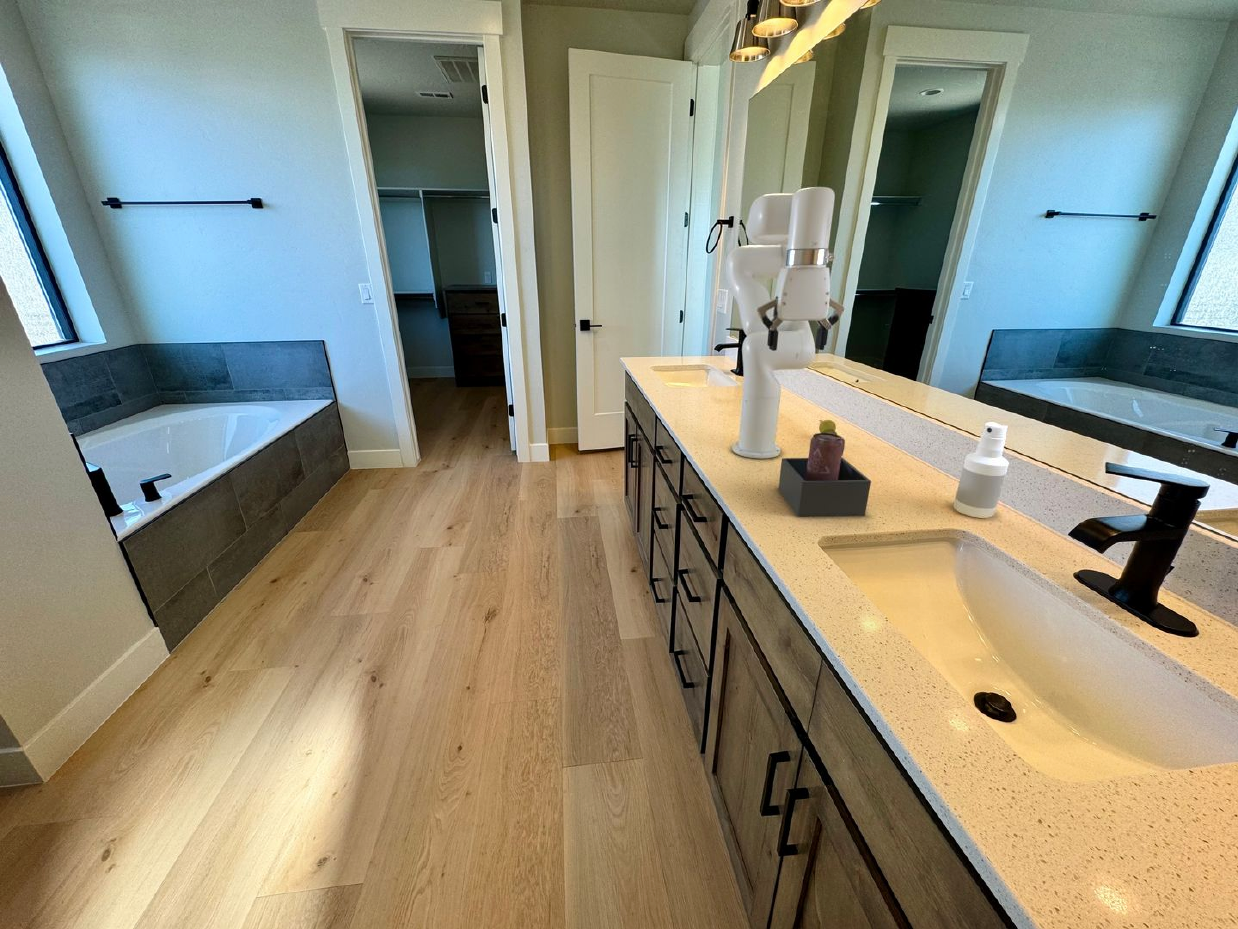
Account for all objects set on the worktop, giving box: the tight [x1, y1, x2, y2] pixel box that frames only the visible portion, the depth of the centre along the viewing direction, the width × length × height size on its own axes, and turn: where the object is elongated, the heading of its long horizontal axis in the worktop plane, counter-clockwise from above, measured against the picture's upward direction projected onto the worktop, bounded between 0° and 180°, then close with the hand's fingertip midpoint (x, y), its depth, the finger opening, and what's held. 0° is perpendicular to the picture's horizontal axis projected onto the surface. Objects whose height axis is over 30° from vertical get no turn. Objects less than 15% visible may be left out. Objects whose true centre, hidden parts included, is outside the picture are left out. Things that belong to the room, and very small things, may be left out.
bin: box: [778, 456, 872, 518], centre depth 102 cm, size 13×13×8 cm
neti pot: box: [818, 419, 838, 435], centre depth 137 cm, size 4×15×6 cm, turn 0°
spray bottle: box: [952, 421, 1010, 519], centre depth 95 cm, size 7×7×18 cm
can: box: [805, 432, 846, 481], centre depth 101 cm, size 6×6×14 cm
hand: (796, 349), depth 102 cm, fingers open, 9 cm apart
